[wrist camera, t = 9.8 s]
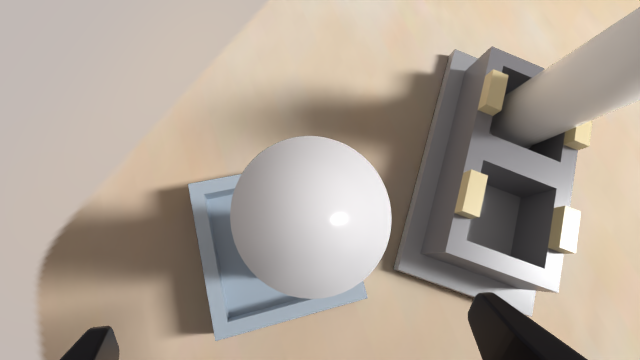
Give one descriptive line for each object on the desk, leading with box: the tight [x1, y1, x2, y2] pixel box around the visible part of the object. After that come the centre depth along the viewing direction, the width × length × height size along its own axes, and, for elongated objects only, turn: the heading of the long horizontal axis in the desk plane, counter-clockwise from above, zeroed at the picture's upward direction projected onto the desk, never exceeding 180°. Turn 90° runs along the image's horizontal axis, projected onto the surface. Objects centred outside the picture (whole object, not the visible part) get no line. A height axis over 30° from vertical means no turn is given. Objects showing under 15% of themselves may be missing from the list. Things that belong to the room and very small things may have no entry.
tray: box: [188, 174, 367, 341], centre depth 20 cm, size 8×8×2 cm
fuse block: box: [393, 47, 593, 317], centre depth 23 cm, size 16×9×5 cm, turn 161°
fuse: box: [489, 7, 640, 149], centre depth 19 cm, size 4×4×13 cm
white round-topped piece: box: [230, 136, 392, 299], centre depth 15 cm, size 4×4×13 cm
